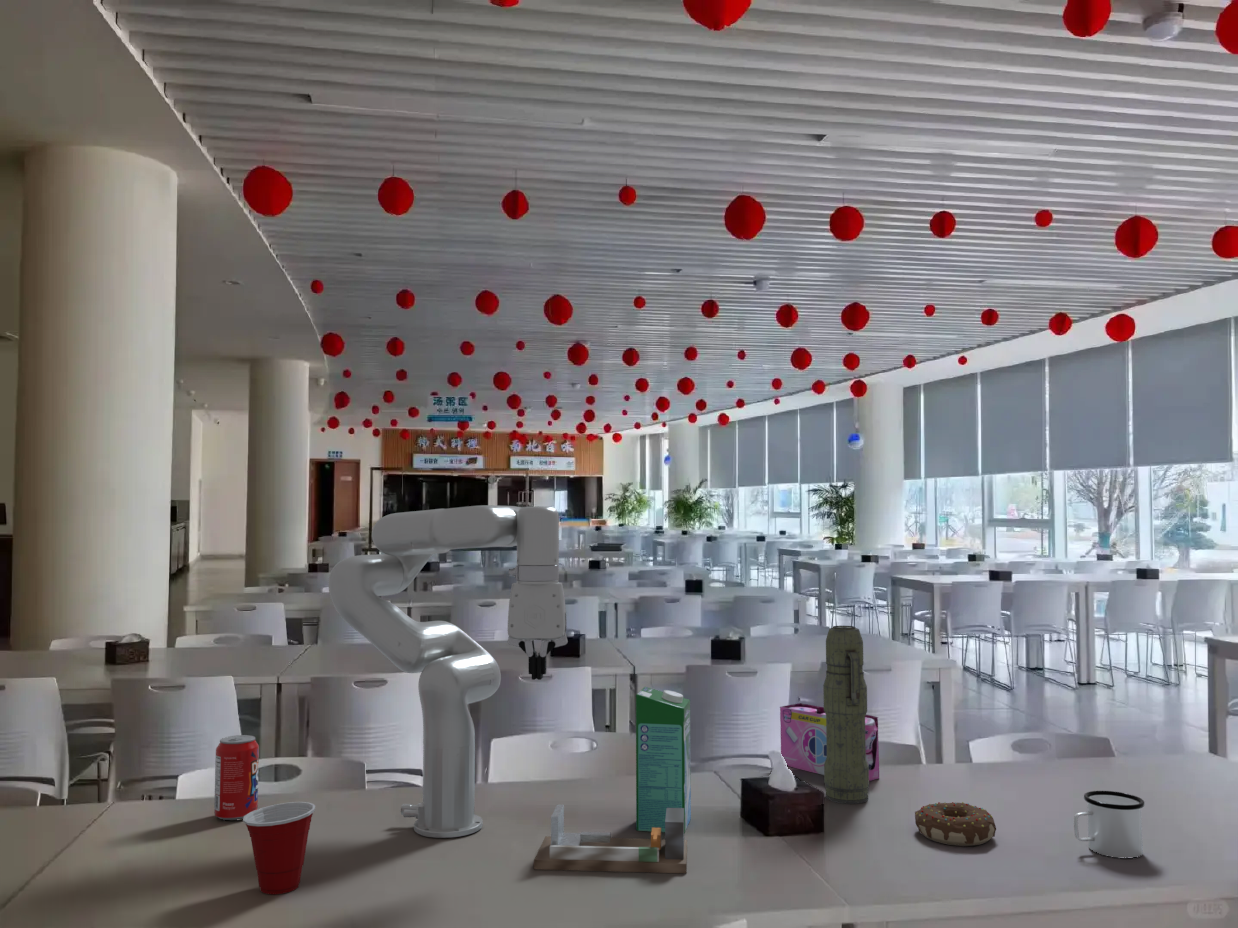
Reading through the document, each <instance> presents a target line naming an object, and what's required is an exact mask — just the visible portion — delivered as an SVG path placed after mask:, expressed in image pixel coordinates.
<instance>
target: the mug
mask: <svg viewBox="0 0 1238 928" xmlns="http://www.w3.org/2000/svg"><path fill="white" fill-rule="evenodd" d="M1083 800H1084V801H1085V802H1086V803H1087V804H1086V805H1087V806H1086V807H1087V811H1083V812H1082V811H1081V812H1077V813H1075V814H1074V817H1073V828H1074V836H1075V838H1076V839H1077V840H1078V841H1079V842H1088V844H1087V845H1088V848H1089V850H1091V851H1092V850H1093V851H1092V852H1093V853H1096V852H1097V853H1096V854H1098V853H1099V854H1098V855H1100V854H1104V855H1108V856H1113V857H1124V858H1125V857H1126V858H1128V857H1137V856H1139V857H1141V856H1143V853H1144V851H1143V822H1142V821H1143V820H1142V819H1143V818H1142V809H1143V808H1144V807H1145V805H1146V804H1145V802H1146V801H1145V800H1144V799H1143V798H1141V797H1139V796H1137V795H1134V794H1130V793H1126V792H1120V791H1113V790H1091V791H1087V792H1085V793H1084V794H1083ZM1081 816H1086V817H1087V837H1080V834H1079V817H1081ZM1140 855H1141V856H1140ZM1137 858H1138V857H1137Z"/></svg>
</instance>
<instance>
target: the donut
mask: <svg viewBox="0 0 1238 928" xmlns="http://www.w3.org/2000/svg"><path fill="white" fill-rule="evenodd" d="M914 820H915V824H916V827H917V828H918V831H919V833H920V834H921V835H923V836H925V838H927V839H928V840H931V841H933V842H937V843H940V844H945V845H950V846H959V847H960V846H961V847H971V846H978V845H982V844H985V843H987V842H989V840H991V839H993V838H994V837H995V835H996V831H997V827H996V823H995V820H994V817H993V816H992V814H990V813H989V812H988V811H987V809H984V808H983V807H977V805H971V804H969V802H967V803H965V802H964V801H962V802H939V801H938V802H937V803H929V804H927V805H922V807H921V808H920V809H918V810H917V811H914Z"/></svg>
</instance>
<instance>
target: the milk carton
mask: <svg viewBox="0 0 1238 928" xmlns="http://www.w3.org/2000/svg"><path fill="white" fill-rule="evenodd" d="M691 768H692V767H691V700H690V699H688V698H685V697H684V695H683V694H682V693H680V692H677V691H673V690H670V689H669V690H668V689H664V690H663V691H661V690H659V689H658V690H657V689H656V688H655V689H654V688H651V687H648V686H644V687H643V688H642V689H641V690H639V691H638V692H637V693H636V695H635V789H636V790H635V796H636V797H635V799H636V800H635V807H636V808H635V819H636V821H635V822H636V824H635V825H636V826H635V827H636V829H635V830H636V831H639V832H650V833H651V831H652V828H661V833H665V818H666V809H667V808H684V834H685V833H686V831H687V828H688V826H689V824H690V822H691V819H692V814H691V813H692V812H691V810H692V808H691V807H692V803H691V802H692V801H691V800H692V792H691V791H692V789H691V786H692V785H691V783H692V779H691V778H692V777H691V776H692V775H691V774H692V773H691Z"/></svg>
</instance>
